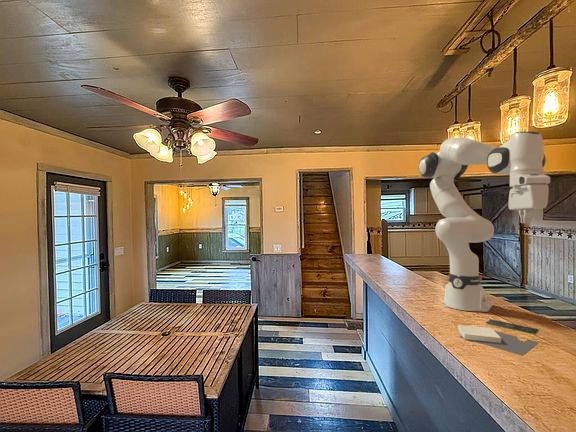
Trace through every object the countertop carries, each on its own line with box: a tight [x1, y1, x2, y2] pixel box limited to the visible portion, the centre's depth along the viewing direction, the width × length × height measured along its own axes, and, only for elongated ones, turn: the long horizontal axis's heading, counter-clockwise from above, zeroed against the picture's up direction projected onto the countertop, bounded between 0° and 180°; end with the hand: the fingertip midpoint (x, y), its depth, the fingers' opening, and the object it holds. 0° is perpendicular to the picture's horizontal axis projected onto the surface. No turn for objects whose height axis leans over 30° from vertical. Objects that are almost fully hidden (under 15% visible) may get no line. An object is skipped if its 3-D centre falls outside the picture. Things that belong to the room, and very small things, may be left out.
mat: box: [459, 330, 540, 356], centre depth 101 cm, size 16×17×1 cm
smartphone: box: [485, 319, 540, 335], centre depth 114 cm, size 8×1×15 cm
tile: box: [457, 324, 501, 344], centre depth 103 cm, size 2×9×10 cm
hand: (525, 223), depth 104 cm, fingers closed
